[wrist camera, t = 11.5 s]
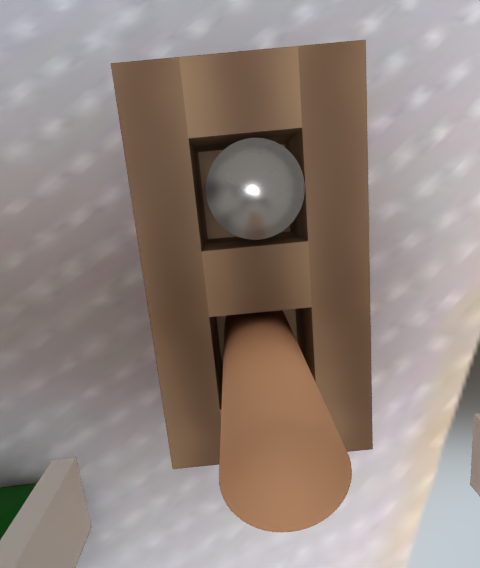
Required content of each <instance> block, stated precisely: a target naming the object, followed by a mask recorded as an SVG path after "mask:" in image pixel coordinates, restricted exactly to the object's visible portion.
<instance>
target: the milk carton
mask: <svg viewBox="0 0 480 568" xmlns="http://www.w3.org/2000/svg"><path fill="white" fill-rule="evenodd" d="M36 484H37V483H36ZM36 484H28V485H20V486H11V487H3V488H0V540H1V538H2V537H3V535H4V534H5V532H6V531H7V529H8V528H9V526H10V524H11V523H12V521H13V520H14V518H15V517H16V515H17V514H18V512H19V511H20V509H21V507H22V506H23V504H24V503H25V501H26V500H27V498H28V497H29V495H30V494H31V492H32V490H33V489H34V487H35V486H36Z"/></svg>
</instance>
